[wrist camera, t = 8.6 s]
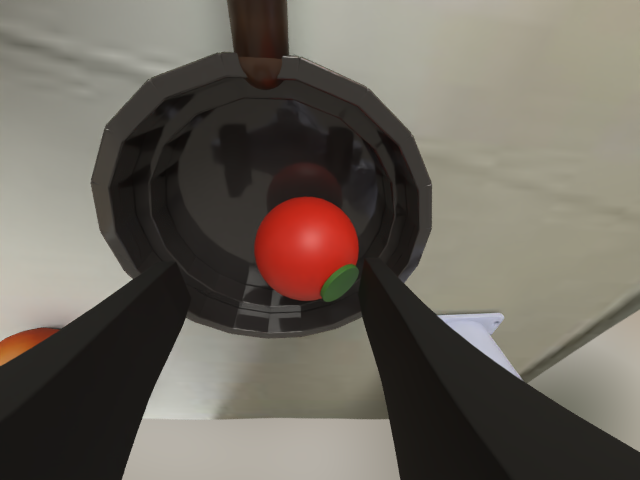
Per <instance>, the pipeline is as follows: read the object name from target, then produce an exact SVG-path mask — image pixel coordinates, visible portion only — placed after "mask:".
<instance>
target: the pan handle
mask: <svg viewBox="0 0 640 480" xmlns="http://www.w3.org/2000/svg"><path fill="white" fill-rule="evenodd" d="M227 4H228V11H229V18H230V26H231V33H232V40H233V47H234V52H235V53H237V55H238V59H239V63H240V66H241V68H242V70H243V72H244V73H245V74H246V76H247V77H248V78H244V79H245V80H246V81H247V82H248V83H249V84H250V85H252V86H253V87H255V88H258V89H261V90H270V89H274V88H276V87H277V86H279V85H280V84H281V83H282V82H283V80H277V76H278V75H279V73H280V70H281V67H282V57H283V55H289V46H288V15H287V0H227Z"/></svg>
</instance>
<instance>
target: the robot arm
mask: <svg viewBox="0 0 640 480" xmlns="http://www.w3.org/2000/svg"><path fill="white" fill-rule="evenodd" d="M358 296H359V302H360V307H361V313H362V318H363V321H364V324H365V328H366V331H367V334H368V338H369V341H370V344H371V348H372V351H373V354H374V357H375V361H376V364H377V367H378V371H379V374H380V378H381V382H382V386H383V391H384V395H385V400H386V405H387V410H388V415H389V420H390V425H391V430H392V435H393V440H394V445H395V451H396V456H397V462H398V468H399V474H400V479H401V480H640V452H638V451H637V450H635V449H633V448H632V447H630V446H628V445H627V444H625V443H623V442H621V441H620V440H618V439H616V438H615V437H613V436H611V435H610V434H608V433H606V432H604V431H602V430H601V429H599V428H598V427H596V426H594V425H593V424H591V423H589V422H587V421H586V420H584V419H582V418H581V417H579V416H577V415H575V414H574V413H572V412H571V411H569V410H567V409H566V408H564V407H562V406H561V405H559V404H558V403H556V402H555V401H553V400H552V399H550V398H548V397H547V396H545V395H544V394H542V393H541V392H539V391H537V390H536V389H534V388H533V387H531V386H530V385H528V384H527V383H525V382H524V381H523V380H522V378H521V377H520V376H519V374H518V373H517V371H516V370H515V369H514V367H513V366H512V365H511V363H510V362H509V360H508V359H507V358H506V356H505V355H504V354H503V352H502V351H501V349H500V348H499V347H498V345H497V344H496V343H495V341H494V340H493V338H492V337H491V335H492V333H493V332H494V331H495V330H496V328H497V327H498V326H499V325H500V323H501V322H502V321H503V320H504V316H503V315H502V314H501V313H480V314H456V315H436V314H435V313H434V312H433V311H432V310H431V309H429V308H428V307H427V306H426V305H425V304H424V303H423V302H422V301H421V300H420V299H419V298H418V297H417V296H416V295H415V294H414V293H413V292H412V291H411V290H410V289H409V288H408V287H407V286H406V285H405V284H404V283H403V282H402V281H401V280H400V279H399V278H398V277H397V276H396V274H395V273H394V272H393V271H392V270H391V269H390V268H389V267H388V266H387V265H386V264H385V263H384V262H383V261H382V260H381V258H365V260H364V265H363V270H362V276H361V281H360V286H359V291H358ZM190 302H191V296H190V293H189V291H188V289H187V286H186V284H185V282H184V279H183V277H182V274H181V272H180V270H179V267H178V265H177V262H176V261H167V262H158V263H156V264H155V265H153V266H151V267H150V268H148V269H147V270H146V271H144V272H143V273H141V274H140V275H139V276H137V277H136V278H134V279H133V280H132V281H130V282H129V283H127V284H126V285H125V286H123V287H122V288H120V289H119V290H118V291H116V292H115V293H113V294H112V295H111V296H109V297H108V298H106V299H105V300H103V301H102V302H101V303H99V304H98V305H96V306H95V307H93V308H92V309H90V310H89V311H87V312H86V313H84V314H83V315H81V316H80V317H78V318H77V319H75V320H74V321H72V322H71V323H69V324H68V325H67V326H65V327H64V328H62V329H61V330H59V331H58V332H56V333H54V334H53V335H51V336H50V337H48V338H47V339H45V340H43V341H42V342H40V343H38V344H37V345H35V346H34V347H32V348H30V349H29V350H27V351H25V352H23V353H22V354H20V355H18V356H17V357H15V358H13V359H12V360H10V361H8V362H7V363H5V364H3V365H1V366H0V480H122V476H123V474H124V470H125V467H126V464H127V461H128V458H129V455H130V452H131V449H132V446H133V443H134V440H135V437H136V434H137V431H138V428H139V425H140V423H141V420H142V417H143V414H144V412H145V409H146V406H147V403H148V401H149V398H150V396H151V393H152V391H153V389H154V386H155V384H156V382H157V380H158V378H159V375H160V373H161V371H162V369H163V367H164V365H165V363H166V361H167V358H168V356H169V354H170V352H171V350H172V348H173V346H174V344H175V341H176V339H177V337H178V335H179V333H180V330H181V328H182V326H183V324H184V321H185V318H186V315H187V312H188V308H189V305H190Z"/></svg>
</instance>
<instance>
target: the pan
mask: <svg viewBox="0 0 640 480" xmlns="http://www.w3.org/2000/svg"><path fill="white" fill-rule="evenodd" d="M244 78H248V77H247V76H246V74H245V73H244V72H243V70H242V68H241V66H240V63H239V59H238V55H237V53H235V52H221V53H215V54H212V55H210V56H207V57H205V58H202V59H199V60H197V61H194V62H191V63H189V64H186V65H183V66H181V67H178V68H175V69H173V70H170V71H167V72H165V73H162V74H159V75H157V76H154V77H152V78H151V79H148V80H147V81H146V82H145V83H144V84H143V85H142V86H141V88H140V89H139V90H138V91H137V92H136V93H135V94H134V95H133V96H132V97H131V98H130V99H129V101H128V102H127V103H126V104H125V105H124V106H123V107H122V108H121V109H120V110H119V111H118V112H117V114H116V115H115V116H114V117H113V118H112V119H111V120H110V121H109V122H108V123H107V124H106V126H105V129H104V132H103V136H102V140H101V144H100V148H99V151H98V155H97V159H96V163H95V167H94V171H93V174H92V178H91V187H92V192H93V198H94V203H95V208H96V213H97V218H98V224H99V229H100V231H101V234H102V235H103V237H104V239H105V240H106V242H107V244H108V245H109V247H110V248H111V250H112V252H113V253H114V255H115V257H116V258H117V260H118V262H119V263H120V265H121V266H122V268H123V270H124V271H126V273H127V274H128V275H129V276H130V277H131V278H132V279H134V278H136V277H137V276H139V275H140V274H141V273H143V272H144V271H146V270H147V269H148V268H150V267H151V266H153V265H155V264H156V263H158V262H167V261H176V262H177V265H178V267H179V270H180V272H181V274H182V277H183V279H184V282H185V284H186V286H187V289H188V291H189V293H190V296H191V302H190V305H189V308H188V312H187V315H186V318H188V319H190V320H192V321H194V322H196V323H199V324H202V325H205V326H209V327H212V328H215V329H218V330H221V331H224V332H227V333H231V334H237V335H245V336H252V337H260V338H287V337H302V336H307V335H312V334H316V333H320V332H325V331H329V330H333V329H336V328H339V327H341V326H344V325H346V324H348V323H350V322H352V321H355V320H357V319H359V318H361V317H362V313H361V307H360V302H359V296H358V291H359V286H360V281H361V276H362V270H363V265H364V260H365V258H381V260H382V261H383V262H384V263H385V264H386V265H387V266H388V267H389V268H390V269H391V270H392V271H393V272H394V273H395V274H396V276H397V277H398V278H399V279H400V280H401V281H402V282H403V283H404V282H405V281H406V280H407V279H408V277H409V276H410V275H411V273H412V272H413V271H414V270H415V268H416V267H417V266H418V264H419V261H420V259H421V256H422V253H423V251H424V248H425V245H426V243H427V240H428V237H429V235H430V232H431V229H432V228H431V227H432V184H431V180H430V177H429V175H428V172H427V169H426V167H425V164H424V162H423V159H422V157H421V154H420V152H419V149H418V147H417V144H416V142H415V139H414V137H413V135H412V134H411V132H410V131H409V130H408V129H407V128H406V127H405V126H404V125H403V123H402V122H401V121H400V120H399V119H398V118H397V117H396V116H395V115H394V114H393V113H392V112H391V111H390V110H389V109H388V108H387V107H386V106H385V105H384V104H383V103H382V101H381V100H380V99H379V98H378V97H377V96H376V95H375V94H374V93H373V92H372V91H371V90H370V89H368V88H367V87H366V86H364V85H362V84H360V83H358V82H355V81H353V80H351V79H349V78H347V77H345V76H342V75H340V74H338V73H336V72H334V71H332V70H329V69H327V68H325V67H323V66H321V65H318V64H316V63H314V62H312V61H310V60H308V59H305V58H303V57H300V58H299V57H298V56H294V55H283V57H282V67H281V70H280V73H279V75H278V76H277V80H283V82H282V83H281V84H280V85H279V86H277V87H276V88H274V89H270V90H261V89H258V88H255V87H253V86H252V85H250V84H249V83H248V82H247V81H246V80H245V79H244ZM297 197H316V198H321V199H324V200H326V201H329V202H331V203H333V204H334V205H336V206H337V207H339V208H340V209H341V210H342V211H343V212H344V213H345V214H346V215H347V216H348V218H349V219H350V221H351V222H352V224H353V226H354V228H355V231H356V234H357V238H358V244H359V253H358V260H357V264H356V267H357V268H358V270H359V274H358V277H357V279H356V281H355V282H354V284H353V285H352V286H351V288H350V289H349V290H348V291H347V292H346V293H344V294H343V295H342V296H341V297H339V298H338V299H336V300H334V301H331V302H326V301H324V300H323V299H318V300H313V301H300V300H295V299H291V298H288V297H286V296H283V295H281V294H280V293H278V292H277V291H275V290H274V289H273V288H272V287H270V286H269V285H268V283H267V282H266V281H265V280H264V279H263V277H262V275H261V273H260V271H259V269H258V267H257V264H256V260H255V254H254V244H255V238H256V234H257V231H258V228H259V226H260V224H261V222H262V221H263V219H264V218H265V216H266V215H267V214H268V213H269V212H270V211H271V210H272V209H273V208H275V207H276V206H277V205H279V204H281V203H282V202H284V201H287V200H289V199H292V198H297Z"/></svg>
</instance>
